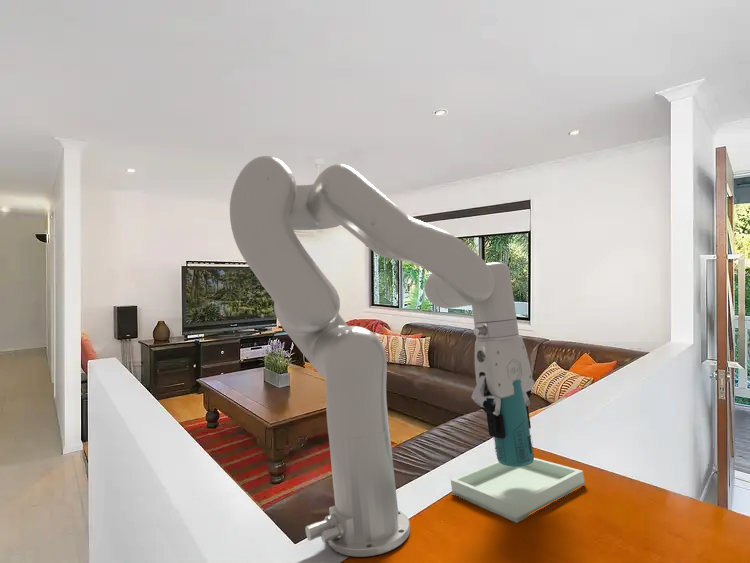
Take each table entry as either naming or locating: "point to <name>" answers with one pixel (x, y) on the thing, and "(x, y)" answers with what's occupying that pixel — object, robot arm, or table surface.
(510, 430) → the beverage bottle
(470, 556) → the table surface
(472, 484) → the tray
